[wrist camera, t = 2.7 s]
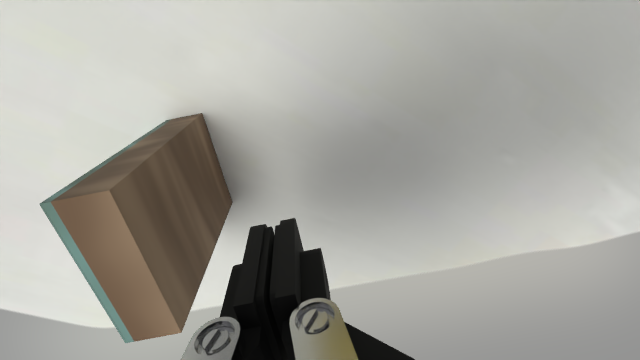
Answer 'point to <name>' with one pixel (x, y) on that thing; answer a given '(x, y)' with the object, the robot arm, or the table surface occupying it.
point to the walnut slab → (146, 226)
